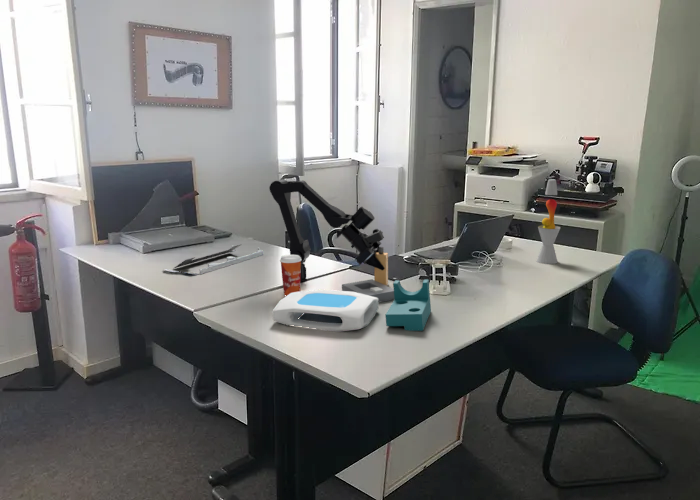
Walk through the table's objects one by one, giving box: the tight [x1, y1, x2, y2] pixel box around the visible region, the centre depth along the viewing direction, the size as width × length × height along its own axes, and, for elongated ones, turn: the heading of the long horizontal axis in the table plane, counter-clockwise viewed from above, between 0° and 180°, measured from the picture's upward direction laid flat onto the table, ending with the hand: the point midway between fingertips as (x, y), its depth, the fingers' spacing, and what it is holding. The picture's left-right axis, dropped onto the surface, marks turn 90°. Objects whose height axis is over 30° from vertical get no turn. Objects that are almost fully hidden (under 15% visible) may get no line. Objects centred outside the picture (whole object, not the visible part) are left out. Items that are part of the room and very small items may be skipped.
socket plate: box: [341, 278, 395, 303], centre depth 201 cm, size 13×17×4 cm
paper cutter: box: [163, 244, 264, 276], centre depth 251 cm, size 18×45×6 cm, turn 148°
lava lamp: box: [535, 178, 561, 265], centre depth 241 cm, size 9×9×35 cm
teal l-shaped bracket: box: [385, 279, 432, 332], centre depth 176 cm, size 18×11×10 cm, turn 165°
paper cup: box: [279, 254, 302, 297], centre depth 202 cm, size 8×8×14 cm
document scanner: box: [272, 288, 379, 333], centre depth 179 cm, size 21×28×6 cm
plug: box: [373, 246, 389, 286], centre depth 213 cm, size 4×4×14 cm
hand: (384, 268), depth 212 cm, fingers closed on plug, 4 cm apart
